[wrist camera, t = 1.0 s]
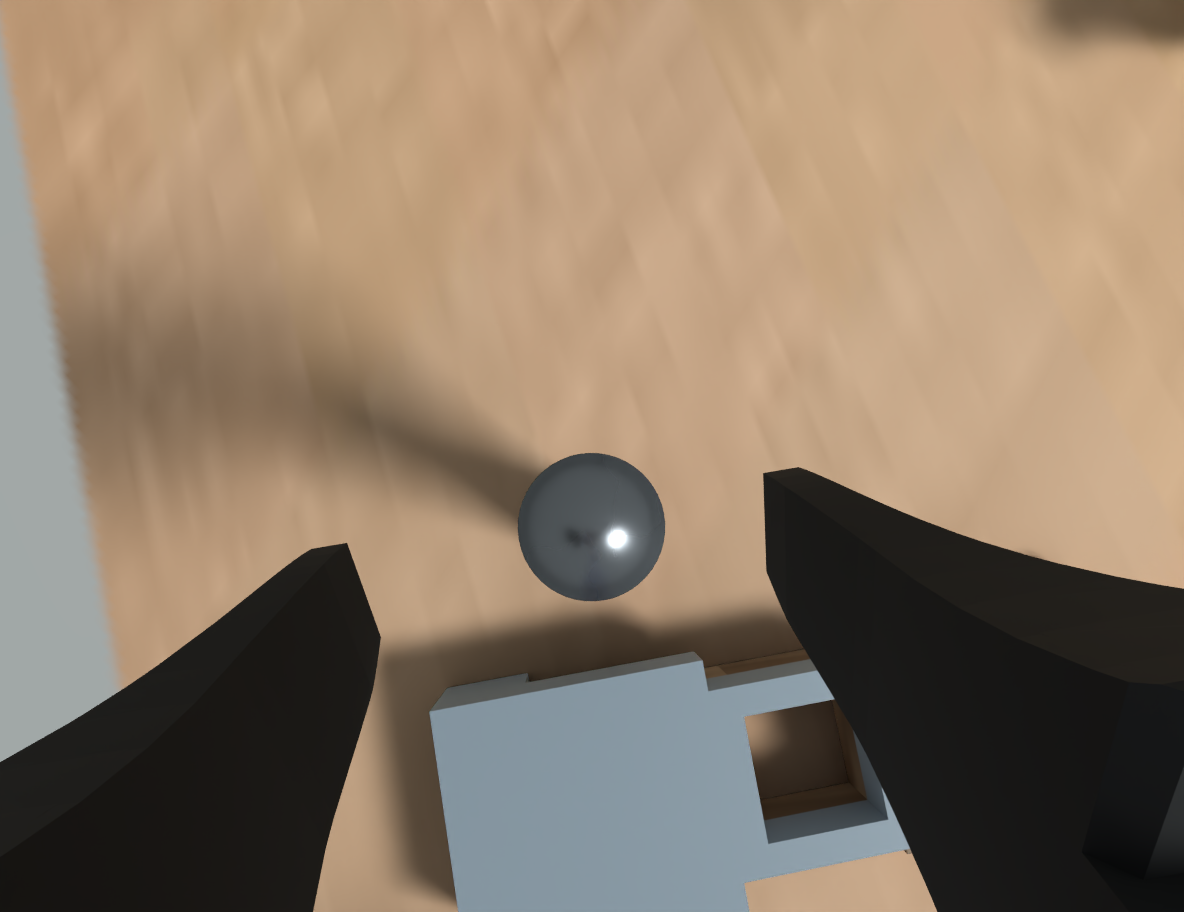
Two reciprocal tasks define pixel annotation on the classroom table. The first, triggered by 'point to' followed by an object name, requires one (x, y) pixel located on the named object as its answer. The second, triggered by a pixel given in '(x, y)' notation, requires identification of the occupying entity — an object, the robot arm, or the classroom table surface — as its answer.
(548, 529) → the hinge pin
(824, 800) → the hinge leaf
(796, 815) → the hinge leaf
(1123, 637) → the robot arm
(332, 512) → the classroom table surface
